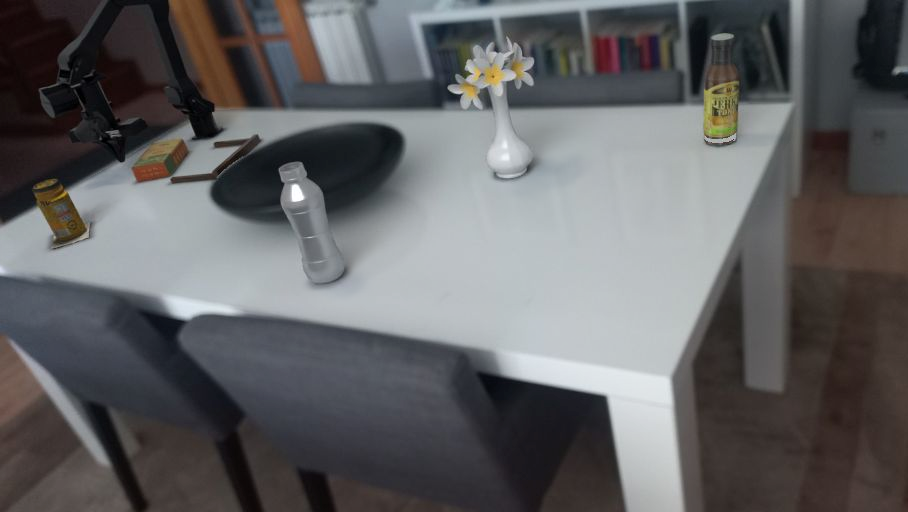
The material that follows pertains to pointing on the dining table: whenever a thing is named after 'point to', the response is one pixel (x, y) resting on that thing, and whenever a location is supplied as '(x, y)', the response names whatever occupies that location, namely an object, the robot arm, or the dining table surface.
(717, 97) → the sauce bottle
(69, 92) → the robot arm
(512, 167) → the flower vase
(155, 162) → the carton
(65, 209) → the condiment
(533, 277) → the dining table surface
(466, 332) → the dining table surface
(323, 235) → the plastic bottle
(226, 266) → the dining table surface
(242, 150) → the frame
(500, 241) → the dining table surface
